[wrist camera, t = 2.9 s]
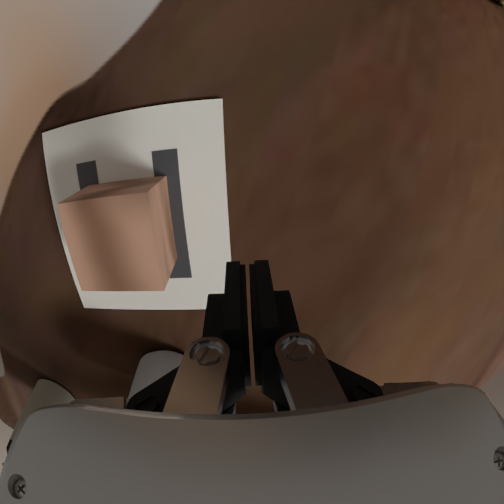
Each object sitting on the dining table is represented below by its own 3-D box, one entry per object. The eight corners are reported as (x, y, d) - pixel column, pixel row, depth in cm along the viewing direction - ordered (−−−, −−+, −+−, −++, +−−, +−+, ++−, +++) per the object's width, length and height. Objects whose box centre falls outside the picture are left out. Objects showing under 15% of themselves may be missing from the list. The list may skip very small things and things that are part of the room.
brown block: (166, 175, 21) (146, 192, 16) (177, 257, 24) (164, 290, 19) (88, 185, 21) (57, 203, 16) (105, 260, 24) (81, 290, 19)
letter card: (222, 98, 19) (222, 98, 18) (234, 305, 27) (234, 308, 26) (44, 132, 18) (41, 133, 18) (85, 305, 26) (84, 308, 26)
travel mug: (32, 371, 32) (-9, 456, 16) (71, 386, 33) (35, 482, 17) (46, 398, 36) (14, 476, 20) (82, 412, 37) (55, 497, 21)
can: (211, 383, 32) (206, 471, 21) (157, 388, 33) (140, 468, 22) (188, 341, 29) (172, 441, 18) (129, 348, 29) (99, 437, 18)
